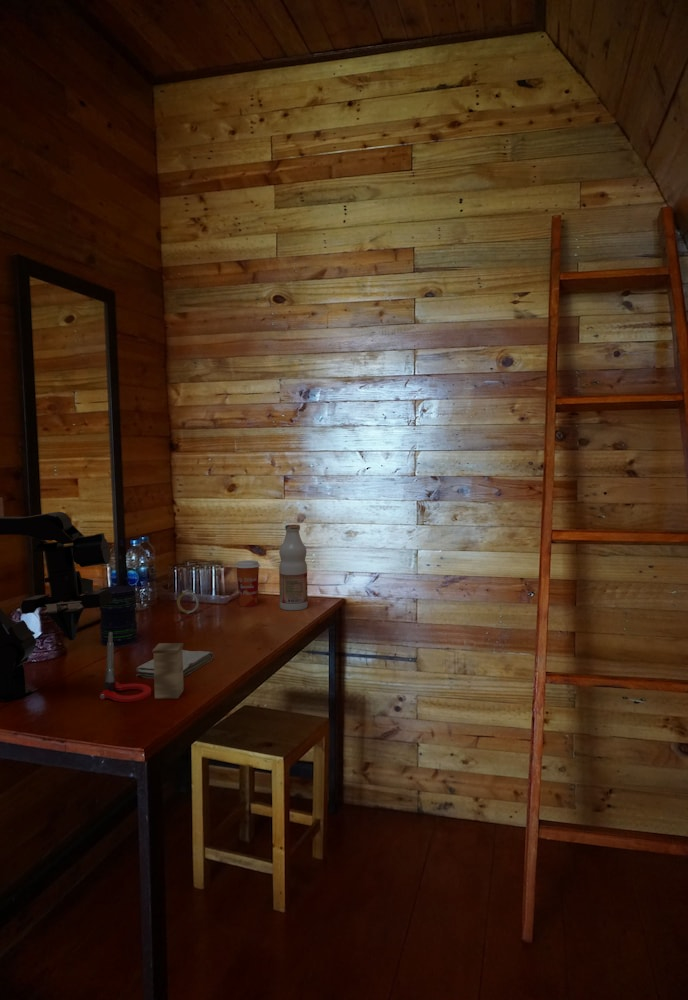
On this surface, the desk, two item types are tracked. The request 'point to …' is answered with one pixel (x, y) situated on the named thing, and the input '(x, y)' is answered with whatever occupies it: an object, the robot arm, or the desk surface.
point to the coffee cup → (248, 582)
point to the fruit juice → (293, 571)
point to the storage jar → (119, 616)
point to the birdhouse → (168, 670)
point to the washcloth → (190, 663)
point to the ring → (183, 595)
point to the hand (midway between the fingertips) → (72, 639)
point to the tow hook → (113, 686)
